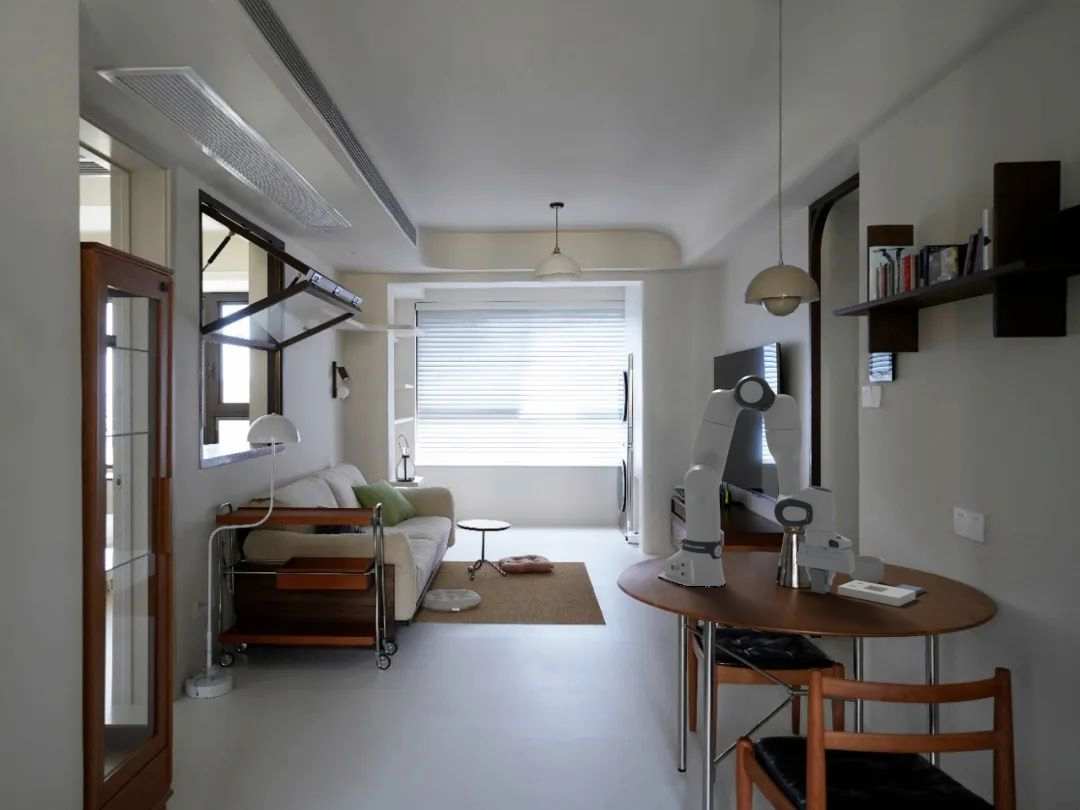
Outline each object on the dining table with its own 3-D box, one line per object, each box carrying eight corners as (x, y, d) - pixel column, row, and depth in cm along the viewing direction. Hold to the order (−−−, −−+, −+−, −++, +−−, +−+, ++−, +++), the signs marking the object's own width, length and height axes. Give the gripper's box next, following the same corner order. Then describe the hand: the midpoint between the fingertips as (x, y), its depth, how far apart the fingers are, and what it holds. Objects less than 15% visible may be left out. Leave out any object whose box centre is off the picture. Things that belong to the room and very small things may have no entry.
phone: (887, 593, 218) (887, 589, 218) (901, 587, 225) (901, 583, 225) (910, 597, 213) (910, 594, 213) (925, 591, 220) (925, 587, 220)
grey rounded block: (890, 586, 226) (890, 561, 226) (856, 586, 226) (856, 561, 226) (870, 576, 240) (869, 552, 240) (838, 576, 240) (838, 553, 240)
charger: (811, 591, 220) (811, 568, 220) (817, 589, 223) (817, 566, 223) (823, 593, 217) (823, 570, 217) (829, 591, 220) (829, 568, 220)
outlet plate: (837, 594, 217) (837, 585, 217) (855, 587, 225) (855, 579, 225) (898, 606, 204) (898, 597, 204) (915, 599, 211) (915, 590, 211)
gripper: (784, 535, 226) (784, 578, 226) (847, 544, 211) (847, 590, 211) (794, 533, 230) (794, 575, 230) (857, 541, 215) (857, 587, 215)
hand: (820, 583), depth 220 cm, fingers closed on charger, 4 cm apart
